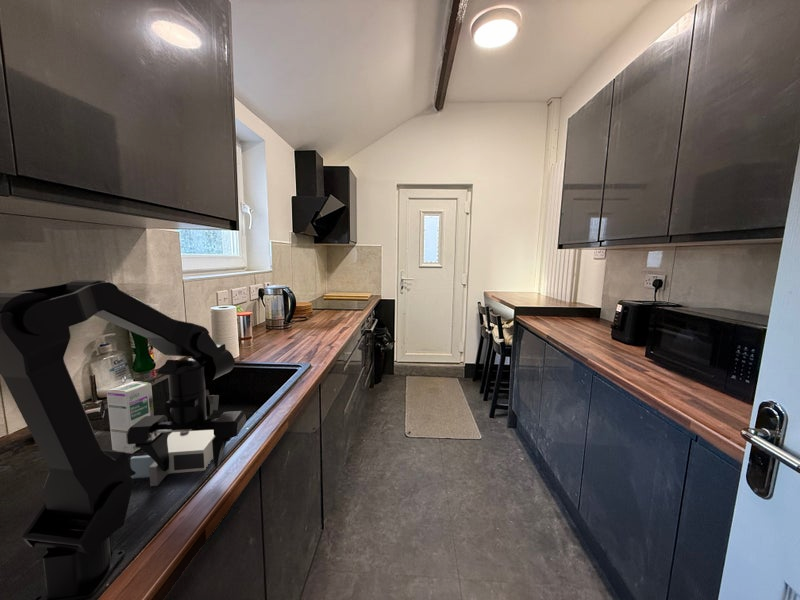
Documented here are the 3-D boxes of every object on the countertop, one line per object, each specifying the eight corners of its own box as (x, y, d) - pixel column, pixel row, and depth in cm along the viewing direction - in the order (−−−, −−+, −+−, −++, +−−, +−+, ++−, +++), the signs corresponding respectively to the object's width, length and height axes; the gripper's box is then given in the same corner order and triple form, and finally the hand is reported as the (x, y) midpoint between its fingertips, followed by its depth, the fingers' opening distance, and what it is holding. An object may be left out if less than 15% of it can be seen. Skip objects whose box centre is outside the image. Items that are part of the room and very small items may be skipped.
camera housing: (209, 470, 65) (208, 447, 65) (150, 475, 63) (148, 452, 63) (227, 443, 75) (227, 423, 74) (176, 447, 73) (175, 427, 73)
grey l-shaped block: (157, 486, 59) (156, 466, 59) (119, 489, 58) (117, 469, 58) (169, 472, 64) (168, 453, 63) (134, 475, 63) (132, 456, 62)
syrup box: (131, 454, 70) (127, 391, 69) (110, 450, 71) (105, 389, 70) (156, 440, 76) (152, 382, 74) (136, 437, 77) (132, 380, 75)
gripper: (252, 374, 69) (254, 442, 71) (158, 378, 66) (163, 448, 68) (234, 394, 58) (237, 474, 60) (120, 400, 55) (127, 483, 57)
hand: (192, 468), depth 61 cm, fingers open, 9 cm apart
